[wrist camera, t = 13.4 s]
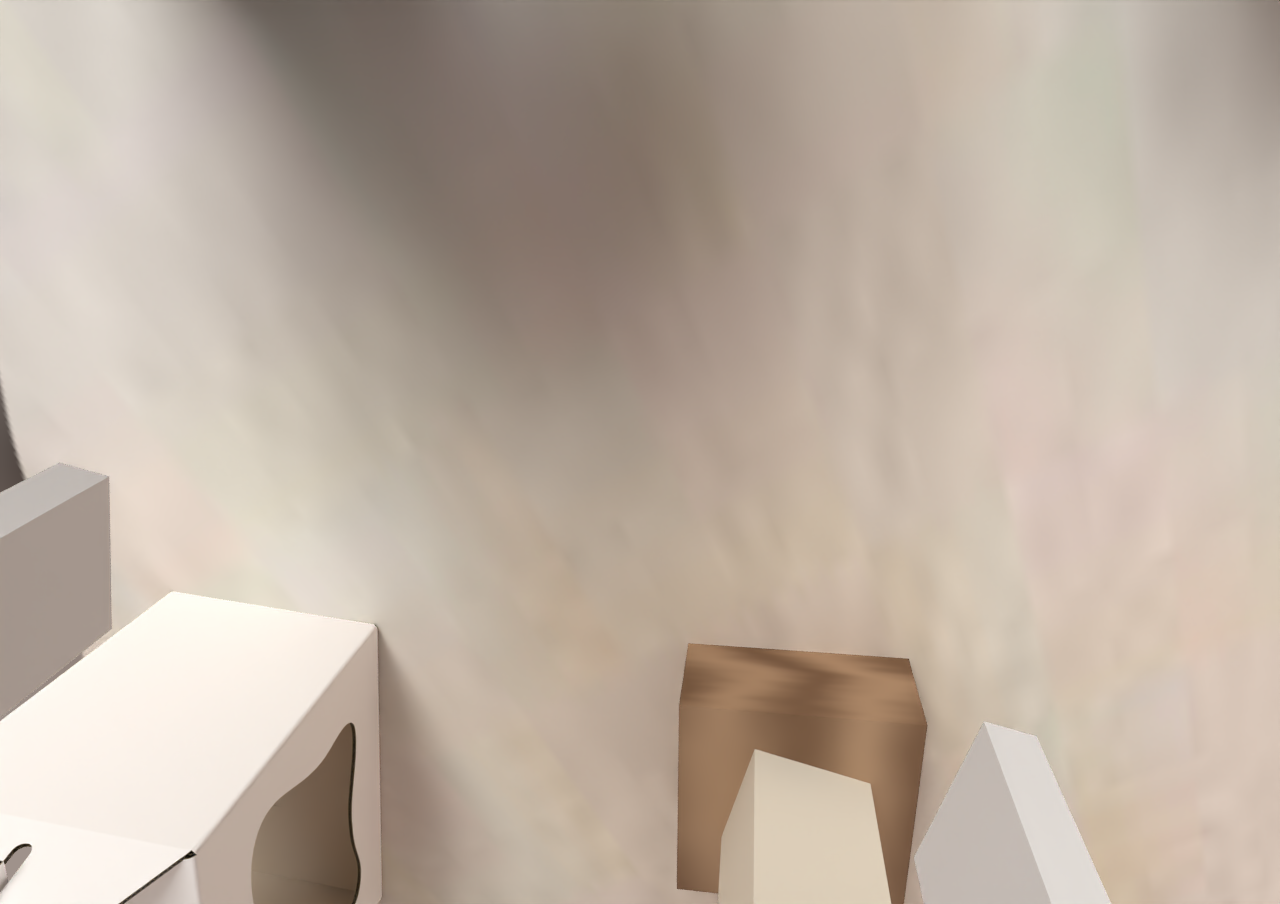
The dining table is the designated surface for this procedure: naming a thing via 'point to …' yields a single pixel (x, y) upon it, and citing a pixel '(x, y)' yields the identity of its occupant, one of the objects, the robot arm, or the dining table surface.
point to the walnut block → (795, 741)
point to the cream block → (801, 838)
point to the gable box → (200, 764)
